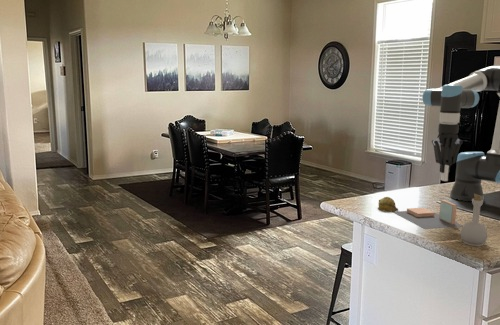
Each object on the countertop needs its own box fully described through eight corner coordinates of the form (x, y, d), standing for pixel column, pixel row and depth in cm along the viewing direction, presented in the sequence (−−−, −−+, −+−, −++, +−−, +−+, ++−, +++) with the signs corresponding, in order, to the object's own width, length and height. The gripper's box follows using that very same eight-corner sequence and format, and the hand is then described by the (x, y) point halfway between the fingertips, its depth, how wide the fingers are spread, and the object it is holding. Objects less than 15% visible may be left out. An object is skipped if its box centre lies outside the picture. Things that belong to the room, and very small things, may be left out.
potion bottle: (454, 239, 169) (459, 190, 166) (478, 238, 170) (483, 190, 167) (468, 247, 161) (473, 197, 158) (492, 247, 162) (498, 196, 158)
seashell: (394, 221, 205) (403, 205, 207) (392, 214, 199) (400, 198, 201) (374, 212, 210) (382, 198, 212) (371, 206, 205) (380, 191, 207)
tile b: (442, 218, 193) (443, 199, 191) (454, 224, 185) (456, 204, 184) (438, 218, 192) (440, 199, 191) (451, 224, 185) (453, 205, 183)
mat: (428, 211, 206) (428, 209, 206) (464, 227, 183) (464, 226, 183) (391, 213, 202) (391, 211, 202) (424, 230, 179) (424, 228, 179)
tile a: (423, 207, 203) (407, 208, 201) (434, 212, 195) (417, 213, 193) (423, 211, 203) (406, 212, 201) (434, 216, 195) (417, 217, 193)
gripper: (457, 122, 193) (452, 178, 197) (429, 122, 190) (424, 178, 195) (469, 124, 186) (463, 181, 190) (439, 124, 183) (434, 182, 187)
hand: (443, 180), depth 192 cm, fingers closed
